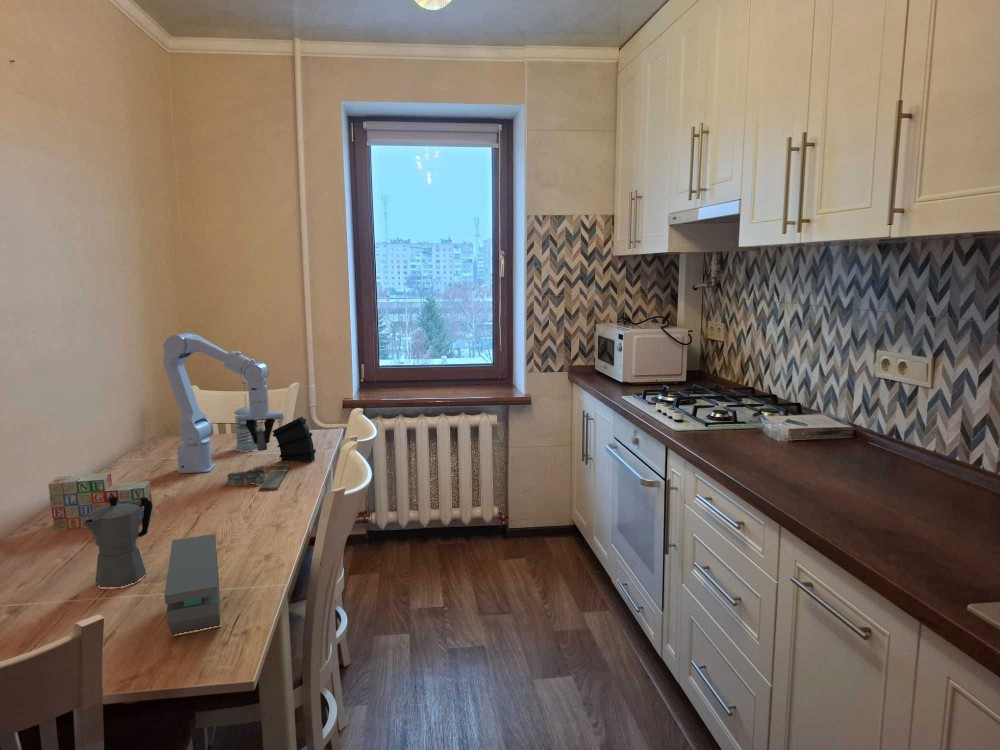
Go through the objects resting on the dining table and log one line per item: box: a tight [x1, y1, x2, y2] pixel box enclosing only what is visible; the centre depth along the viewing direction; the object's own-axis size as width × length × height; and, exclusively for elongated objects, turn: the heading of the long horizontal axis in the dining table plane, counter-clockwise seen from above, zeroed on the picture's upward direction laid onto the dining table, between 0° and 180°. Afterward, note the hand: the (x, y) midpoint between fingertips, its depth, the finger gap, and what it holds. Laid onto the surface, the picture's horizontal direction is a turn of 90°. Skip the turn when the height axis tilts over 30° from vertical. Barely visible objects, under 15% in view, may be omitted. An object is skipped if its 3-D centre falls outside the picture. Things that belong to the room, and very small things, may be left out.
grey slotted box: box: [164, 533, 221, 636], centre depth 123 cm, size 25×8×11 cm, turn 23°
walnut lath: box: [259, 463, 291, 492], centre depth 207 cm, size 5×24×1 cm, turn 9°
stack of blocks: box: [47, 472, 154, 531], centre depth 171 cm, size 21×6×12 cm, turn 103°
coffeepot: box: [83, 496, 154, 587], centre depth 139 cm, size 15×9×18 cm, turn 159°
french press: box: [233, 379, 266, 452], centre depth 240 cm, size 10×12×25 cm
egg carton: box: [226, 465, 267, 487], centre depth 203 cm, size 11×8×4 cm
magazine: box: [272, 416, 317, 463], centre depth 225 cm, size 4×13×15 cm, turn 83°
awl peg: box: [256, 427, 268, 452], centre depth 214 cm, size 3×3×7 cm
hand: (261, 442), depth 214 cm, fingers closed on awl peg, 3 cm apart
